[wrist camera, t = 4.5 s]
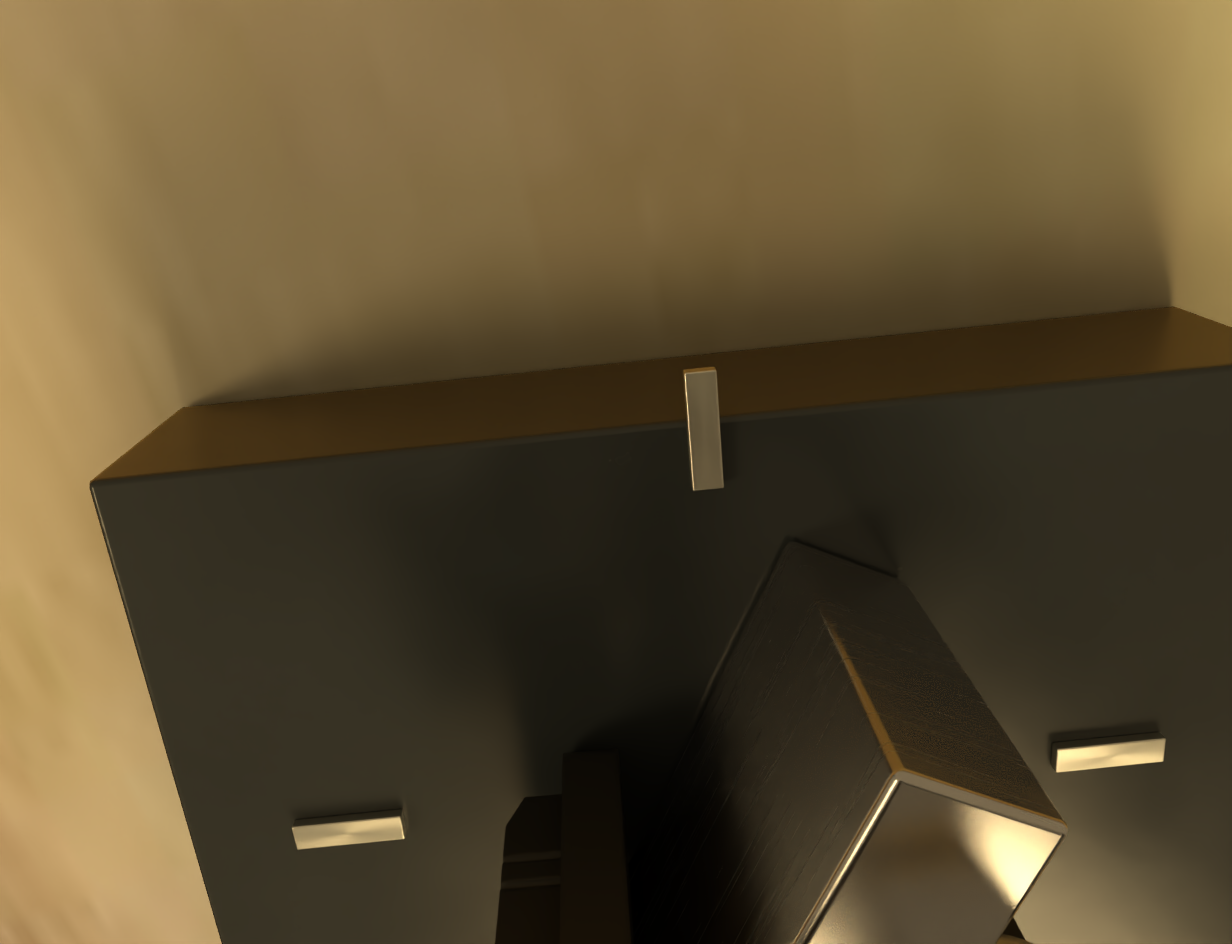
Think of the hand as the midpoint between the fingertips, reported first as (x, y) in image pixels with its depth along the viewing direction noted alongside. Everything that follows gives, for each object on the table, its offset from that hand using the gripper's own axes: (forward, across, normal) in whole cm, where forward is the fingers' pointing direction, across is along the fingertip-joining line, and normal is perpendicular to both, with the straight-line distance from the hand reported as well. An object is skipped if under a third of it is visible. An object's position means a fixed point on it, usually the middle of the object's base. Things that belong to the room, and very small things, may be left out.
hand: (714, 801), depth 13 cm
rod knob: (0, 0, 0) cm, 0 cm away
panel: (+3, 0, 0) cm, 3 cm away
